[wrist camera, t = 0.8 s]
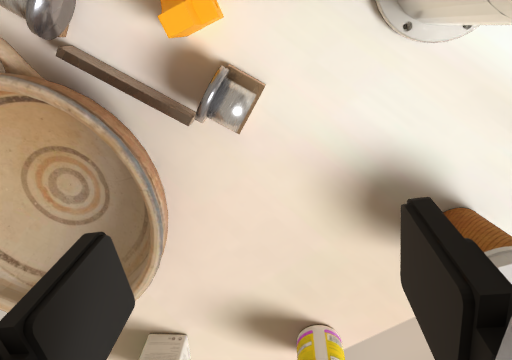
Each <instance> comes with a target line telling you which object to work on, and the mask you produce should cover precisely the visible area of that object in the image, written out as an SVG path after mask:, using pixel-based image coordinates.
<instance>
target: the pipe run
mask: <svg viewBox="0 0 512 360" xmlns="http://www.w3.org/2000/svg"><path fill="white" fill-rule="evenodd" d="M75 4H76V0H0V6H2V7H3V8H5V9H7V10H9V11H11V12H13V13H14V14H16V15H18V16H20V17H22V18H24V19H26V21H27V25H28V27H29V29H30V30H31V32H33V33H34V34H36V35H38V36H39V37H41V38H43V39H46V40H51V39H54V38H56V37H66V34H67V30H68V26H69V22H70V21H71V18H72V16H73V13H74V9H75ZM56 56H57V57H59V58H61V59H62V60H64V61H66V62H68V63H70V64H72V65H74V66H76V67H78V68H79V69H81V70H83V71H85V72H87V73H89V74H91V75H93V76H95V77H96V78H98V79H100V80H102V81H104V82H106V83H108V84H110V85H112V86H113V87H115V88H117V89H119V90H121V91H123V92H125V93H127V94H129V95H130V96H132V97H134V98H136V99H138V100H140V101H142V102H144V103H146V104H147V105H149V106H151V107H153V108H155V109H157V110H159V111H161V112H163V113H164V114H166V115H168V116H170V117H172V118H174V119H176V120H178V121H179V122H181V123H183V124H185V125H187V126H189V125H190V124H191V123H192V122H193V121H194V120H197V121H198V122H200V123H203V122H204V121H205V119H206V118H207V117H208V118H210V119H211V120H213V121H215V122H217V123H219V124H221V125H223V126H224V127H226V128H228V129H230V130H232V131H234V132H236V133H238V134H240V132H241V130H242V128H243V126H244V125H245V123H246V121H247V119H248V117H249V115H250V113H251V112H252V110H253V108H254V106H255V104H256V102H257V100H258V99H259V97H260V95H261V93H262V91H263V89H264V87H265V85H266V84H264V83H262V82H260V81H259V80H257V79H255V78H253V77H252V76H250V75H248V74H246V73H244V72H243V71H241V70H239V69H237V68H236V67H234V66H232V65H230V64H229V65H228V66H227V68H225V67H224V66H221V67H220V68H219V69H218V71H217V72H216V74H215V75H214V77H213V79H212V81H211V82H210V84H209V86H208V88H207V90H206V92H205V94H204V96H203V98H202V100H201V102H200V105H199V107H198V110H197V112H195V111H193V110H191V109H189V108H187V107H186V106H184V105H182V104H180V103H178V102H176V101H174V100H172V99H171V98H169V97H167V96H165V95H163V94H161V93H159V92H158V91H156V90H154V89H152V88H150V87H148V86H146V85H145V84H143V83H141V82H139V81H137V80H135V79H133V78H132V77H130V76H128V75H126V74H124V73H122V72H120V71H119V70H117V69H115V68H113V67H111V66H109V65H107V64H106V63H104V62H102V61H100V60H98V59H96V58H94V57H93V56H91V55H89V54H87V53H85V52H83V51H81V50H80V49H78V48H76V47H74V46H72V45H71V46H60V47H58V49H57V53H56Z"/></svg>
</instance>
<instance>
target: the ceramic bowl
mask: <svg viewBox="0 0 512 360" xmlns="http://www.w3.org/2000/svg"><path fill="white" fill-rule="evenodd" d="M0 61H1V62H2V64H3V66H4V68H5V72H6V73H0V310H2V311H5V312H7V313H8V312H9V311H10V310H11V309H12V308H13V307H14V306H15V305H16V304H17V303H18V302H19V301H20V300H21V299H22V298H23V297H24V296H25V295H26V294H27V292H28V291H29V290H30V289H31V288H32V287H33V286H34V285H35V284H36V283H37V282H38V281H39V280H40V279H41V278H42V277H43V276H44V275H45V274H46V273H47V272H48V271H49V270H50V268H51V267H52V266H53V265H54V264H55V263H56V262H57V261H58V260H59V259H60V258H61V257H62V256H63V255H64V254H65V253H66V252H67V251H68V250H69V249H70V248H71V247H72V246H73V245H74V243H75V242H76V241H77V240H78V239H79V238H80V237H81V236H82V235H83V234H85V233H93V232H104V233H105V234H106V235H108V236H110V237H111V239H112V241H113V244H114V246H115V249H116V251H117V254H118V256H119V259H120V262H121V264H122V267H123V269H124V272H125V274H126V277H127V279H128V282H129V284H130V287H131V289H132V292H133V295H134V298H135V300H137V299H138V298H139V297H140V296H141V295H142V294H143V292H144V291H145V290H146V289H147V288H148V286H149V285H150V284H151V282H152V280H153V278H154V276H155V274H156V272H157V270H158V268H159V265H160V261H161V257H162V255H163V252H164V248H165V243H166V239H167V232H168V210H167V204H166V198H165V193H164V189H163V186H162V183H161V180H160V178H159V175H158V172H157V170H156V168H155V166H154V164H153V162H152V161H151V159H150V157H149V155H148V154H147V152H146V150H145V149H144V148H143V146H142V145H141V144H140V143H139V141H138V140H137V139H136V137H135V136H134V135H133V134H132V132H131V131H130V130H129V129H128V128H127V127H126V126H125V125H123V124H122V123H121V122H120V121H119V120H118V119H117V118H116V117H115V116H114V115H113V114H112V113H110V112H109V111H107V110H106V109H104V108H103V107H102V106H100V105H99V104H97V103H96V102H94V101H93V100H92V99H90V98H88V97H86V96H84V95H82V94H80V93H78V92H76V91H74V90H72V89H70V88H68V87H65V86H63V85H60V84H57V83H54V82H50V81H47V80H45V79H44V78H43V77H41V76H40V75H39V74H38V73H37V72H36V71H35V70H34V69H33V68H32V67H31V66H30V65H28V64H27V63H26V62H25V60H24V59H23V58H22V57H21V56H20V55H19V54H18V53H17V52H16V51H15V50H14V49H13V48H12V47H11V46H10V45H9V44H8V43H7V42H6V41H5V40H4V39H2V38H1V37H0Z"/></svg>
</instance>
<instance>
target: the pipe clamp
mask: <svg viewBox="0 0 512 360" xmlns="http://www.w3.org/2000/svg"><path fill="white" fill-rule="evenodd" d="M160 1H161V7H162V12H161V14H160V15H158V18H159V20H160V22H161V24H162V26H163V28H164V30H165V32H166V34H167V36H168V38H176V37H185V36H189V35H191V34H192V33H194V32H196V31H198V30H200V29H202V28H204V27H206V26H208V25H210V24H211V23H213V22H215V21H217V20H219V19H221V18H223V17H224V16H223V14H222V12H221V9H220V7H219V5H218V3H217V0H160Z"/></svg>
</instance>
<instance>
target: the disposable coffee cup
mask: <svg viewBox="0 0 512 360" xmlns="http://www.w3.org/2000/svg"><path fill="white" fill-rule="evenodd" d="M443 213H444V215H445V216H446V217H447V218H448V219H449V221H450V222H451V223H452V224H453V225H454V226H455V228H456V229H457V230H458V231H459V232H460V234H461V235H462V236H463V237H464V238H470V239H472V240H473V241H474V242H475V243H476V244H477V245H478V246H479V248H480V249H481V250H482V251H483V252H484V253H485V254H486V256H487V257H488V258H489V259H490V260H491V261H492V262H493V264H494V265H495V266H496V267H497V268H498V269H499V270H500V272H501V273H502V274H503V275H504V276H505V277H506V278H507V280H508V281H509V282H510V283H511V284H512V236H510V235H509V234H507V233H506V232H504V231H503V230H501V229H500V228H498V227H496V226H495V225H494V224H492V223H491V222H489V221H488V220H486V219H485V218H483V217H482V216H480V215H479V214H477V213H476V212H475V211H473V210H471V209H467V208H454V209H451V210H448V211H446V212H443Z"/></svg>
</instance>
